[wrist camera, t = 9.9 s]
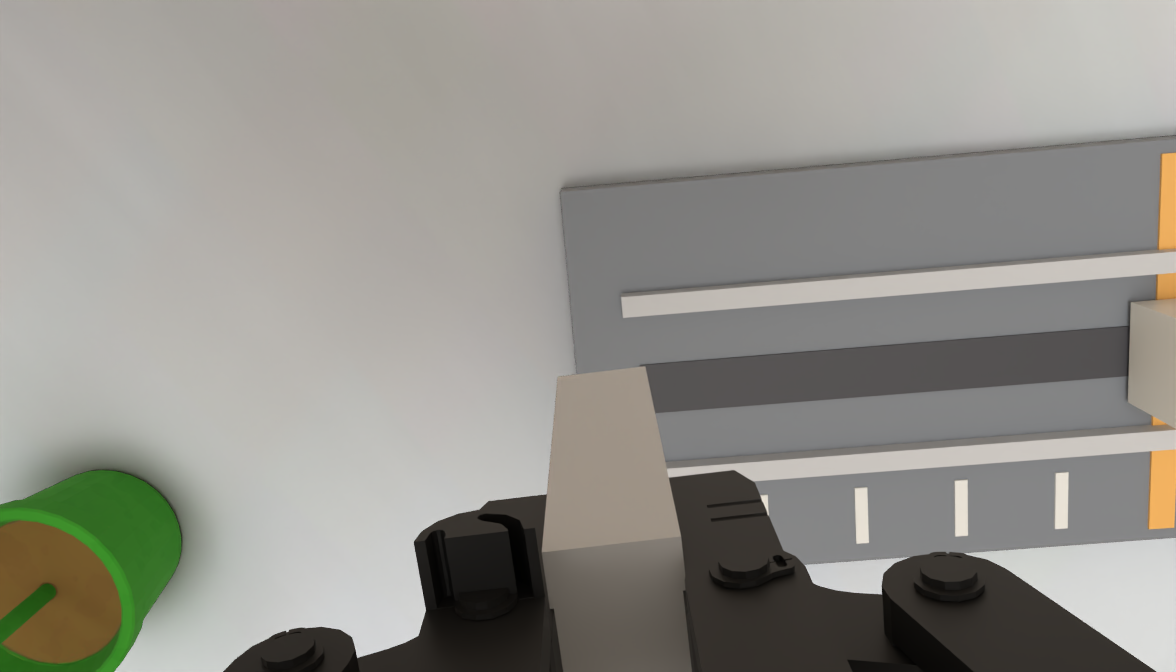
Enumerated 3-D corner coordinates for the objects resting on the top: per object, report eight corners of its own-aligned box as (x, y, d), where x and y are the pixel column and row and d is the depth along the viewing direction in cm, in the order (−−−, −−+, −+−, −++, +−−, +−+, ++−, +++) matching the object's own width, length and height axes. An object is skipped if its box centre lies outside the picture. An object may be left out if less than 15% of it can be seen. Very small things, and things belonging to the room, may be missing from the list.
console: (561, 188, 40) (558, 194, 37) (1328, 122, 39) (1391, 123, 36) (595, 558, 44) (595, 593, 41) (1302, 507, 43) (1357, 538, 39)
